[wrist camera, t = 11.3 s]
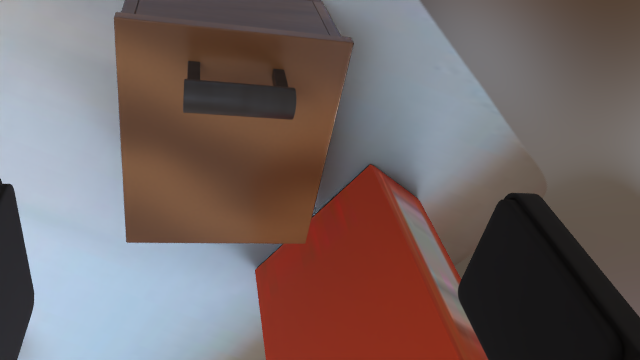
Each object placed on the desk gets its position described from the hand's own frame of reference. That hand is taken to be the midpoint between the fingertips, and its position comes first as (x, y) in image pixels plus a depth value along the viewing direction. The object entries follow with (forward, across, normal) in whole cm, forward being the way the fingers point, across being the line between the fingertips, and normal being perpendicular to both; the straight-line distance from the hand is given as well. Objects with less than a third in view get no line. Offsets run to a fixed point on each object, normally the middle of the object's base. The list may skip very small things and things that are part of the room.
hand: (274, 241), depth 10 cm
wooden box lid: (+23, -1, +13) cm, 26 cm away
